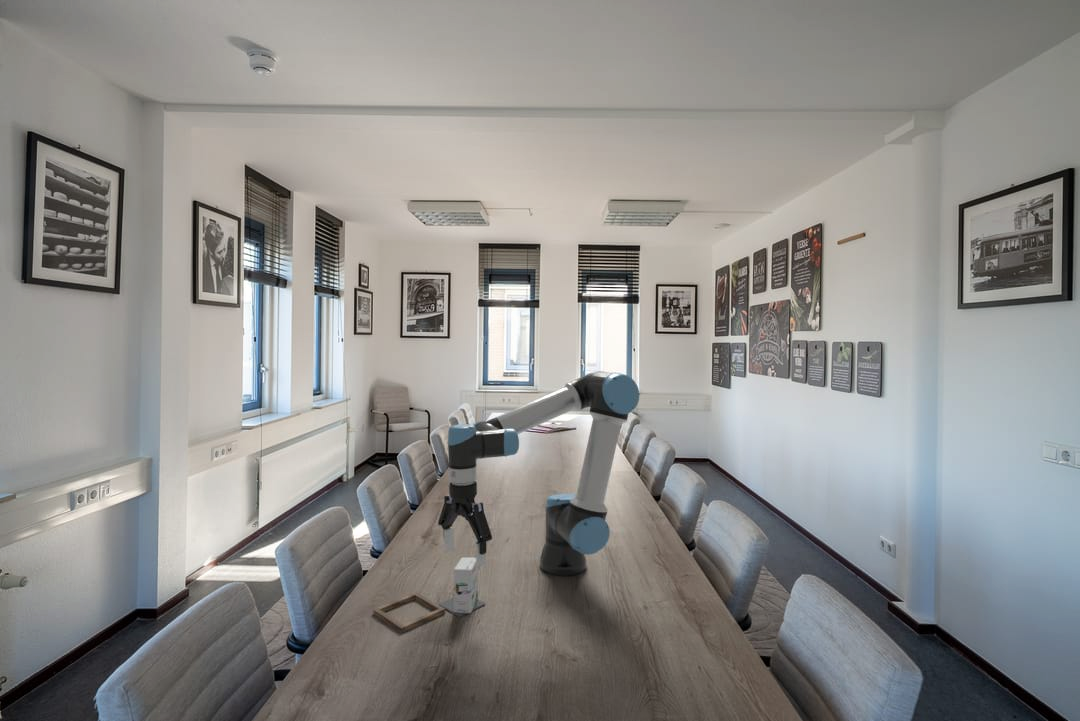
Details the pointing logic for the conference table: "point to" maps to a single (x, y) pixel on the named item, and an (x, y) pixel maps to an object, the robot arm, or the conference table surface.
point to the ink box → (465, 585)
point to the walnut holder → (404, 627)
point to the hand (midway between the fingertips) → (464, 558)
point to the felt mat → (450, 606)
